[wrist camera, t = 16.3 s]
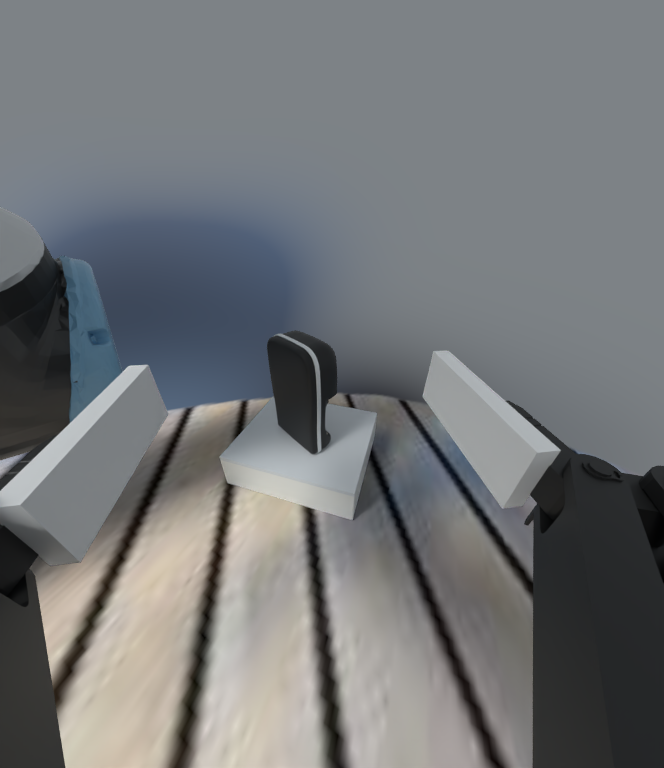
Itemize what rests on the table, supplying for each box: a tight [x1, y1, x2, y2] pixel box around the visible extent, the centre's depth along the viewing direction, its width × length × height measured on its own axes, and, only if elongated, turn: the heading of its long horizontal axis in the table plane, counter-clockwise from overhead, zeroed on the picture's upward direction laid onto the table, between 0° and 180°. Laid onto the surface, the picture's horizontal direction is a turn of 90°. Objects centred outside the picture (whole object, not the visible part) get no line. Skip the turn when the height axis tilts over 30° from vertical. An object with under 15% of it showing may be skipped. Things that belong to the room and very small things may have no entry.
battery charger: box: [267, 331, 337, 454], centre depth 27 cm, size 7×4×11 cm, turn 43°
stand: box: [219, 396, 377, 520], centre depth 31 cm, size 14×12×4 cm
